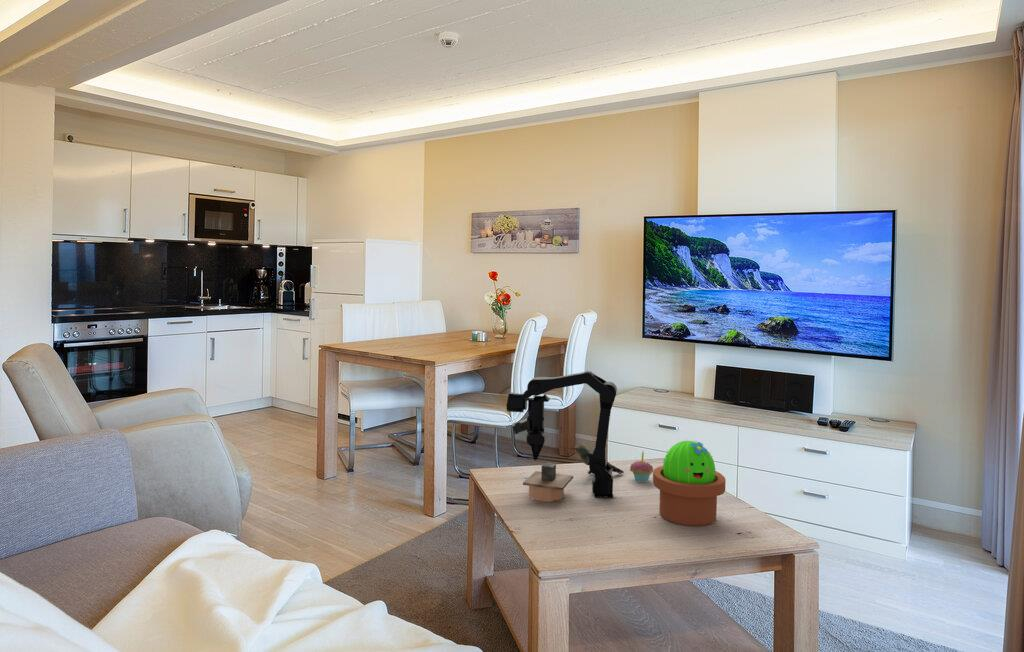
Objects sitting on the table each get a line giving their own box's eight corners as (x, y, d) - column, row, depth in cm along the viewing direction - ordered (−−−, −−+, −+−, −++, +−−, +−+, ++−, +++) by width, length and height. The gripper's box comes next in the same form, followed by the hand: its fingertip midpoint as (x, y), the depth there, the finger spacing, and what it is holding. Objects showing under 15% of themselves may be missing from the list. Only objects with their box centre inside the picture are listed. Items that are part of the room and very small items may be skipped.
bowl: (562, 489, 224) (563, 476, 224) (564, 501, 212) (564, 487, 212) (529, 488, 225) (529, 475, 224) (528, 500, 213) (528, 486, 212)
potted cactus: (643, 504, 211) (645, 431, 209) (706, 503, 213) (709, 430, 211) (665, 530, 189) (667, 449, 187) (735, 529, 191) (738, 448, 189)
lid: (573, 477, 222) (573, 461, 222) (562, 490, 209) (562, 473, 208) (535, 473, 227) (535, 457, 226) (522, 484, 214) (523, 468, 213)
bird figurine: (618, 468, 248) (595, 426, 244) (628, 476, 239) (603, 433, 235) (590, 486, 247) (566, 445, 243) (599, 495, 237) (574, 452, 233)
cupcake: (654, 484, 232) (655, 452, 231) (631, 483, 232) (632, 451, 231) (650, 476, 240) (651, 446, 239) (627, 476, 240) (628, 445, 239)
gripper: (514, 407, 232) (513, 448, 233) (512, 418, 213) (511, 463, 215) (544, 407, 232) (543, 449, 233) (544, 419, 213) (544, 464, 214)
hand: (535, 456), depth 224 cm, fingers open, 9 cm apart
